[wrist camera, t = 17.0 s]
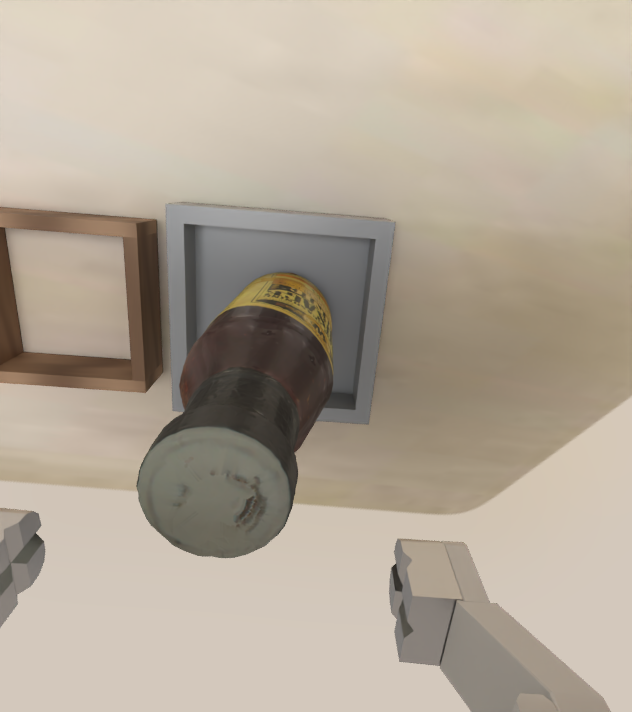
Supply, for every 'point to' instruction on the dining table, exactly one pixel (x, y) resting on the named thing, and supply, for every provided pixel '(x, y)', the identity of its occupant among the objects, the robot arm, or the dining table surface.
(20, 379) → the walnut collar
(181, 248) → the grey tray
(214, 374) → the sauce bottle
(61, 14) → the dining table surface
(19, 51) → the dining table surface
